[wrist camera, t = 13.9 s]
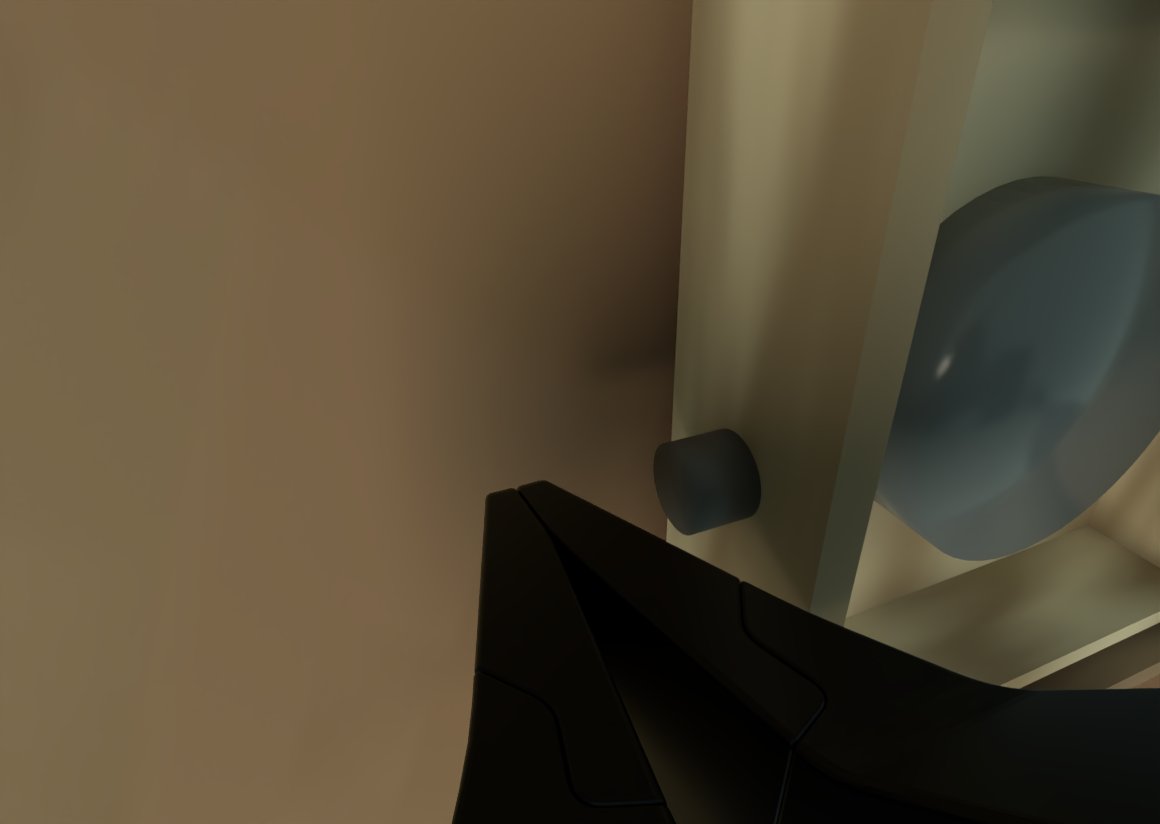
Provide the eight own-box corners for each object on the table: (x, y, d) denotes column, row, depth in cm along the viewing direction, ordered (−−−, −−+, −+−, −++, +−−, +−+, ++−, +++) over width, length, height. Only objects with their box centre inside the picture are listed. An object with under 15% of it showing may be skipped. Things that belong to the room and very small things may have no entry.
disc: (881, 188, 11) (991, 214, 9) (1161, 165, 13) (1289, 183, 11) (806, 536, 14) (876, 600, 12) (1039, 467, 16) (1124, 514, 15)
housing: (1348, -117, 13) (1772, -178, 9) (1068, 530, 21) (1238, 633, 17) (727, -162, 8) (1072, -314, 5) (673, 680, 16) (788, 862, 13)
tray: (1348, -98, 12) (1721, -146, 9) (1069, 540, 20) (1221, 634, 17) (623, -140, 8) (873, -268, 4) (619, 715, 15) (711, 891, 12)
